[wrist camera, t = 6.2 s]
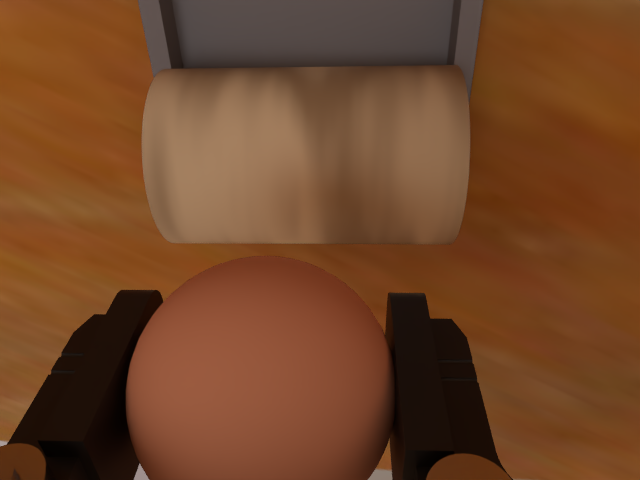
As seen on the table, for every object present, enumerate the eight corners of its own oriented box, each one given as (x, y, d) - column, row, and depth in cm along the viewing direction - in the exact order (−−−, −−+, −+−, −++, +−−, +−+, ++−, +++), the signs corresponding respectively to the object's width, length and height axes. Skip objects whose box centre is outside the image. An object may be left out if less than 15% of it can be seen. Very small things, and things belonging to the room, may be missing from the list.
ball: (393, 206, 10) (424, 416, 6) (383, 375, 13) (398, 595, 9) (148, 206, 10) (28, 409, 6) (189, 372, 13) (121, 585, 9)
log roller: (446, 43, 22) (480, 103, 16) (431, 190, 26) (453, 280, 20) (182, 47, 23) (125, 106, 17) (206, 190, 27) (167, 277, 21)
